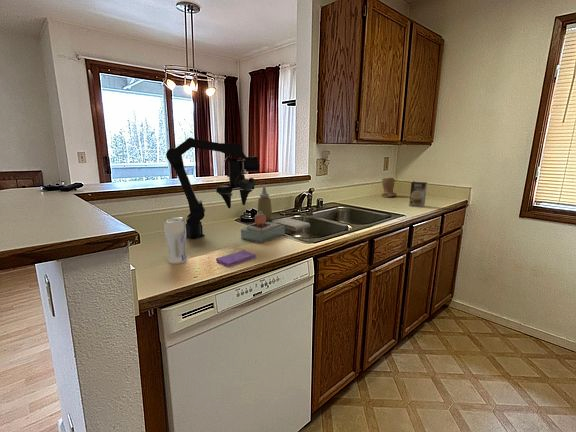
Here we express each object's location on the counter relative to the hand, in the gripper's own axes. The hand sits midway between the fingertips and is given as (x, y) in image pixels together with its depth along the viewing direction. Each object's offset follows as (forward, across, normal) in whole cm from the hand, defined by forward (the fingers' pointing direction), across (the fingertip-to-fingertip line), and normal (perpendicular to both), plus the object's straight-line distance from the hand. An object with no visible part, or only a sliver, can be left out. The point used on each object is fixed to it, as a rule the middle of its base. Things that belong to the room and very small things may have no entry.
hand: (236, 206), depth 142 cm
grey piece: (+13, +5, -13) cm, 19 cm away
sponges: (+13, -25, -23) cm, 37 cm away
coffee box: (+13, +118, -51) cm, 129 cm away
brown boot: (+13, +147, -22) cm, 149 cm away
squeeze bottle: (+13, +27, +6) cm, 30 cm away
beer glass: (+13, -38, -8) cm, 41 cm away
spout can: (+8, +1, -13) cm, 16 cm away
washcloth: (+13, +25, -12) cm, 31 cm away
